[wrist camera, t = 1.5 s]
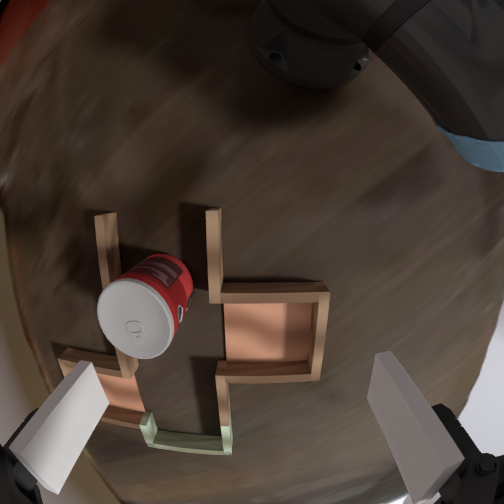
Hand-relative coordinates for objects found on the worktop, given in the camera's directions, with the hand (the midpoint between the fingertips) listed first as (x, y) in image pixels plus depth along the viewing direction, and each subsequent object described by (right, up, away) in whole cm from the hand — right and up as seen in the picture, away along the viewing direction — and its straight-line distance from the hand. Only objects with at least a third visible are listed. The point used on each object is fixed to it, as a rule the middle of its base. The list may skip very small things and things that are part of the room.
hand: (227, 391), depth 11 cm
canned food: (-10, +2, +23) cm, 25 cm away
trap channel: (-10, -7, +24) cm, 27 cm away
